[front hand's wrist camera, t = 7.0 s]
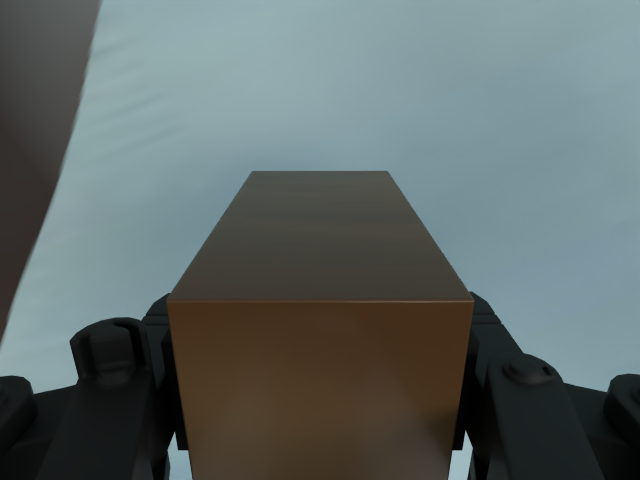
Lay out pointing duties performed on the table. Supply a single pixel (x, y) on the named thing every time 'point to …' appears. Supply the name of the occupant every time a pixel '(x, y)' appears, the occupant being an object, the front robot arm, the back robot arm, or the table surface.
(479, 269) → the table surface
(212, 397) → the bar
